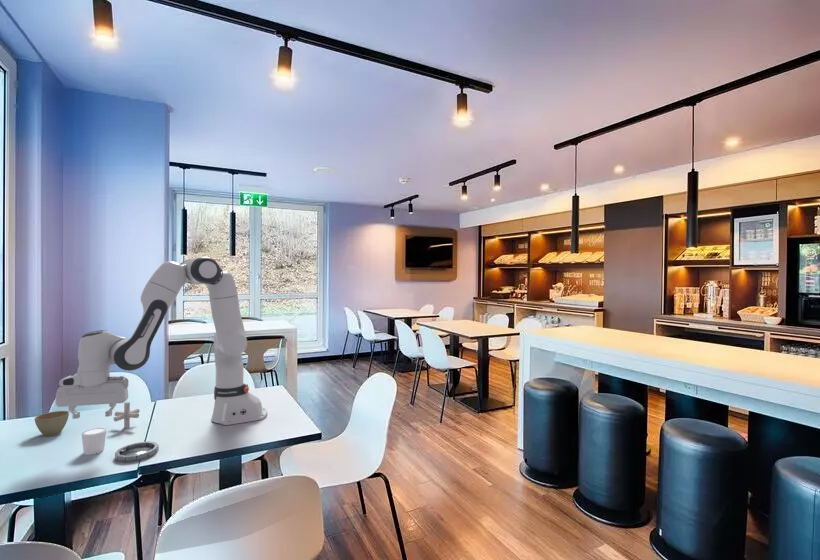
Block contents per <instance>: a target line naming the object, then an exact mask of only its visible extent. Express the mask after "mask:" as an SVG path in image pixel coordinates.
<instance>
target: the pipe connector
mask: <svg viewBox="0 0 820 560" xmlns="http://www.w3.org/2000/svg"><path fill="white" fill-rule="evenodd" d="M130 406H131V401H127V402H126V401H125V402H124V405H123V407H124V408H123V409H124V411H115V412H114V417H113V422H119V421H121V420H123V419H124V420H123V421H124V423H123V428H125V429H128V428H130V426H131V419H130V418H132V419H137V418H140V417H139V416H140V414H139V413H140V409H139V408H135V409H132V410H130V409H131V408H130Z"/></svg>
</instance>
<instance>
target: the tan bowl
mask: <svg viewBox="0 0 820 560" xmlns="http://www.w3.org/2000/svg"><path fill="white" fill-rule="evenodd" d="M69 416H70V411H67V410H56V411H50V412H45V413H42V414H39V415H36V416H35V417H34V423H35V425H36V428H37V429H38V431H39V432H40V434H41V435H43V436H44V437H50V436H54V435H58V434H60V433H61V432H62V431H63V429H64V428H65V426H66V424H67V422H68V421H69Z"/></svg>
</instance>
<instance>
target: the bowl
mask: <svg viewBox="0 0 820 560" xmlns="http://www.w3.org/2000/svg"><path fill="white" fill-rule="evenodd" d="M159 447H160V446H159V444H158V443H157V442H156V441H140V442H135V443H131V444H126V445H124V446H122V447H121V448H119V449H117V450H116V452H114V459H115V461H116V462H117V463H118V462H119V463H134V462H139V461H142V460H146V459H149V458H151V457H153V456H154V455H156V454H157V453H158V452H159Z"/></svg>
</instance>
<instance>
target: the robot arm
mask: <svg viewBox="0 0 820 560" xmlns="http://www.w3.org/2000/svg"><path fill="white" fill-rule="evenodd" d="M186 284H191V285H192V284H194V285H203V284H204V286H206V288H207V291H208V296H209V302H210V303H209V304H210V311H211V317H212V320H213V324H214V328H215V333H214V336H213V350H214V351H213V353H214V365H215V386H214V389H213V399H214V406H213V411H212V415H211V418H210V421H211V422H213V423H216V424H221V425H223V426H229V425H236V424H243V423H248V422H254V421H262V420H264V419H265V418H267V415H268V410H267V408H265V407H262V402H261V399H260V398H259V397H258V396H255V395H254V394H252V393H251V392H249V391H250V388H249V384H248V383H247V384H246V383H244V362H243V361H244V360H243V355H242V354H243V353H244V352H245V350H246V348H247V346H248V339H247V335H246V331H245V326H244V321H243V318H242V314H241V309H240V302H239V295H238V294H239V293H238V290H237V284H236V281H235V278H234V276H233V274H232V273H230V272H229V271H225V270H223V269H222V268H221V267H220V265H219V264H218V262H217V261H216V260H215V259H214V258H211V257H210V256H197V257H196V256H195V257H193V258H189V259H186V260H183V262H181V263H178V262H176V261H164V262H163V263H162V264H161V265H160V266H158V268H157V269H156V270H155V271H154V272H153V274H152V275H151V277H150V278H149V280H147V283H146V284H145V286H144V288H143V290H142V293H141V295H140V302H141V304H142V309H143V310H142V311H143V314H142V316H141V319H140V321H139V323H138V324H137V326H136V329H135V330H134V332H133V333H132V335H131V336H130V338H129V337H125V336H121V335H117V334H115V333H112V332H110V331H108V330H105V329H102V330H101V329H100V330H93V331H90V332H87V333H84V334H83V335H81V337H80V339H79V343H78V349H77V350H78V351H77V359H78V367H77V372H76V373H74V374H71V375H68V376H65V377H63V378H62V379H60V380H59V384H58V385H59V387H58V388H57V390H56V393H55V401H54V403H55V405H56V407H57V408H61V407H62V408H65V407H68V410H69V411H68V412H69V413H71V414H72V415H71V417H72V419H73V420H74V419H80V418H81V411H77V409H76V408H77V406H78V407H79V406H83V407H84V406H97V405H108V407H110V408H109V409H108V410H106V411H105V413H104V414H105V416H104V417H112V414H113V410H114V409H115V408H116V406H117V404H123V403H125V402H126V401H127V400H128V399H129V389H128V388H129V379H128V378H127V377H125V376H121V375H120V376H110V375H111V374H110V370H111V366H112V365H116V366H117V367H118V368H119V369H121V370H123V371H130V372H131V371H135V370H138V369H140V368H142V367H144V366H145V364H147V362H148V360H149V358H150V356H151V355H150V354H151V353H150V352H151V346H152V342H153V340H154V338H155V336H156V335H157V333H158V330H159V328H160V327H161V325H162V323H163V320H164V318H165V317H166V314H167V313H168V312H169V309H170V307H172V304H173V303H174V302H175V300H176V298H177V297H178V295H179V293H180V291H181V290H182V288H183V287H184V286H185V285H186Z"/></svg>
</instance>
